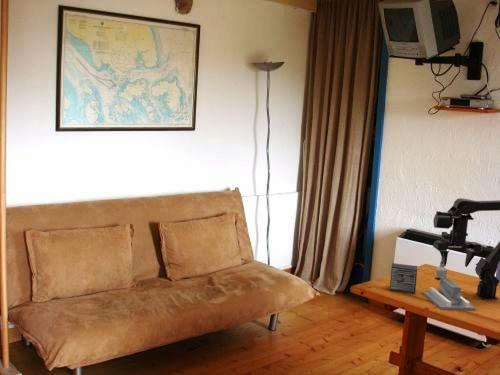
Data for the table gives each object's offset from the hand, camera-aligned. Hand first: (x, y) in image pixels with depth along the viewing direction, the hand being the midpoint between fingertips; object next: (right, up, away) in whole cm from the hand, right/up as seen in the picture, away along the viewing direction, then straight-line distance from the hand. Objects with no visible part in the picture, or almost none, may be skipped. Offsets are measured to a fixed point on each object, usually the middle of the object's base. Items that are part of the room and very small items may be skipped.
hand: (455, 266), depth 252 cm
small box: (-21, -11, +4) cm, 24 cm away
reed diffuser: (+2, -9, +23) cm, 25 cm away
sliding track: (-6, -13, -9) cm, 17 cm away
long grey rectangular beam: (-6, -12, -9) cm, 16 cm away
